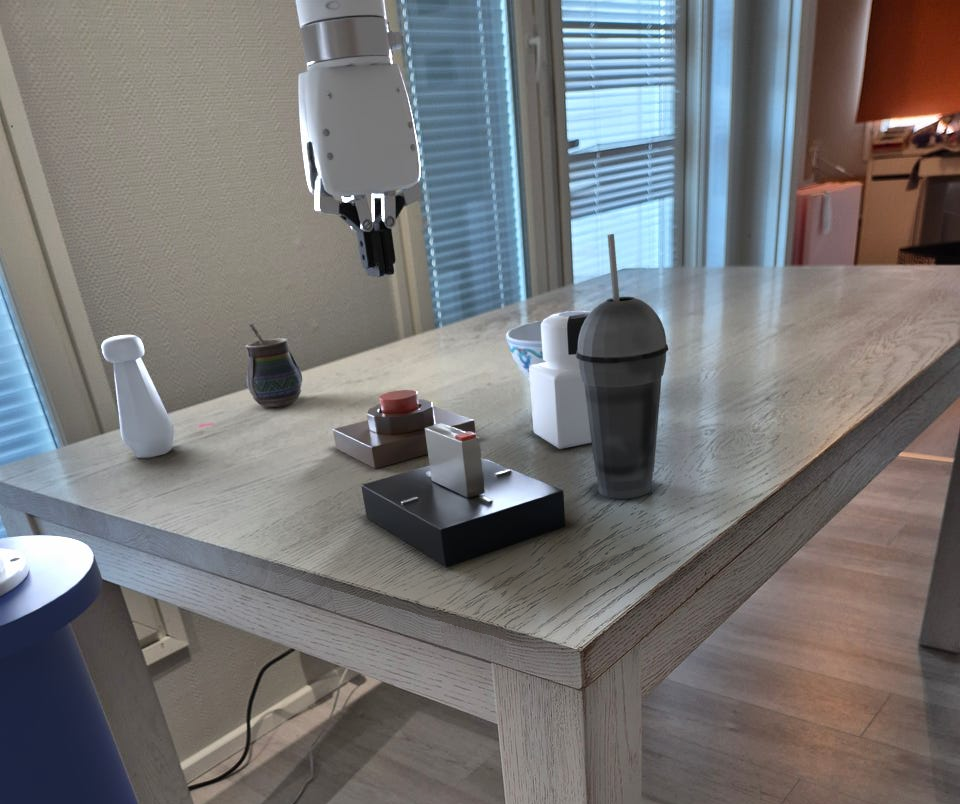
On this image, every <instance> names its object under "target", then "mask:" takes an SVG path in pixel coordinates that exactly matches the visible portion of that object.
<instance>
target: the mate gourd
mask: <svg viewBox="0 0 960 804" xmlns="http://www.w3.org/2000/svg"><path fill="white" fill-rule="evenodd" d="M248 326H249V327H250V329H251V331H252V332H253V334H254V336H255V337H256V339H257V340H256V341H252V342H249V343H247V344H246V345H245V350H246V355H247V356H248V363H247V372H246V385H247V388H248V391H249V393H250V395H251V396H252V399H253V400H254V401H255V402H256V403H257V404H258V405H259V406H261V407H262V408H264V409H265V408H278V407H279V408H280V407H284V406H285V407H286V406H288V405H291V404H293V403H295V402H296V401H297V400H298V398H299V397H300V395H301V392H302V385H303V384H302V383H303V374H302V371H301V370H300V369H301V368H300V367H299V365H298V363H297V362H296V360H295V358H294V356H293V354H292V353H291V351H290V345H289V340H288V339H287V338H285V337H278V338H267V339H263V338H262V336H261V335H260V334H259V331H258V330H257V329H256V327H255V326H254V324H253V323H252V324H248Z"/></svg>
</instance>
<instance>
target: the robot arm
mask: <svg viewBox="0 0 960 804" xmlns="http://www.w3.org/2000/svg"><path fill="white" fill-rule="evenodd" d="M295 5H296V6H295V7H296V11H297V17H298V18H297V19H298V23H299V28H300V34H301V35H300V36H301V40H302V41H301V42H302V47H303V53H304V59H305V64H306V65H305V66H306V71H303V72H300V73H298V84H297V85H298V86H297V87H298V88H297V89H298V92H297V95H298V114H299V129H300V139H301V141H300V142H301V149H302V158H303V159H302V160H303V166H304V172H305V173H304V174H305V179H306V183H307V187H308V190H309V192H310V193H311V195H313V196H314V210H315V212H316V213H318V214H323V215H329V216H338V217H339V218H340V219H342V221H344V222H345V223H346V224H347V225H348V226H349V227H350V229H351V230H352V231H353V232H354V233H356V238H357V244H358V252H359V258H360V263H361V264H360V265H361V267H362V268H363V269H364V270H365V274H366V276H368V277H376V278H380V277H384V276H385V275H386V276H390V275H391V276H392V275H394V274H395V267H394V265H395V264H396V259H397V258H396V253H395V245H394V238H393V237H394V236H393V231H392V229H393V228H394V227H395V226H396V224H397V219H398V217H399V215H400V214H401V212H402V210H403V209H404V208H405V207H407V206H409V205H411V204H413V203H414V204H415V203H416V202H418V201H420V200H421V199H422V197H423V192H422V189H421V185H420V183H419V181H420V179H421V161H420V152H419V144H418V139H417V133H416V128H415V122H414V118H413V113H412V107H411V104H410V99H409V96H408V92H407V89H406V85H405V81H404V78H403V75H402V72H401V69H400V66H399V64H398V63H393V59H392V58H393V57H394V52H395V51H400V50H402V47H403V36H402V34H401V32H399V31H393V30H391V29H390V28H391V27H390V21H388V20H387V12H386V11H387V10H386V3H385V0H295ZM396 191H398V192H397V193H396ZM366 195H371V210H370V207H369V203H368V200H367V196H366ZM338 197H339V198H341V199H342V200H337V199H335V198H338ZM28 571H29V567H28V564H27V561H26V559H25V557H24V555H22V554H21V553H19V552H17V551H13V550H9V549H0V597H1V596H3V595H5V594H6V593H8V592H9V591H11V590H13V589H14V588H15V587H16V586H18V585H19V584H20V583H21V582H22V581H23V580H24V579H25V577H26V576H27V574H28Z"/></svg>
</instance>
